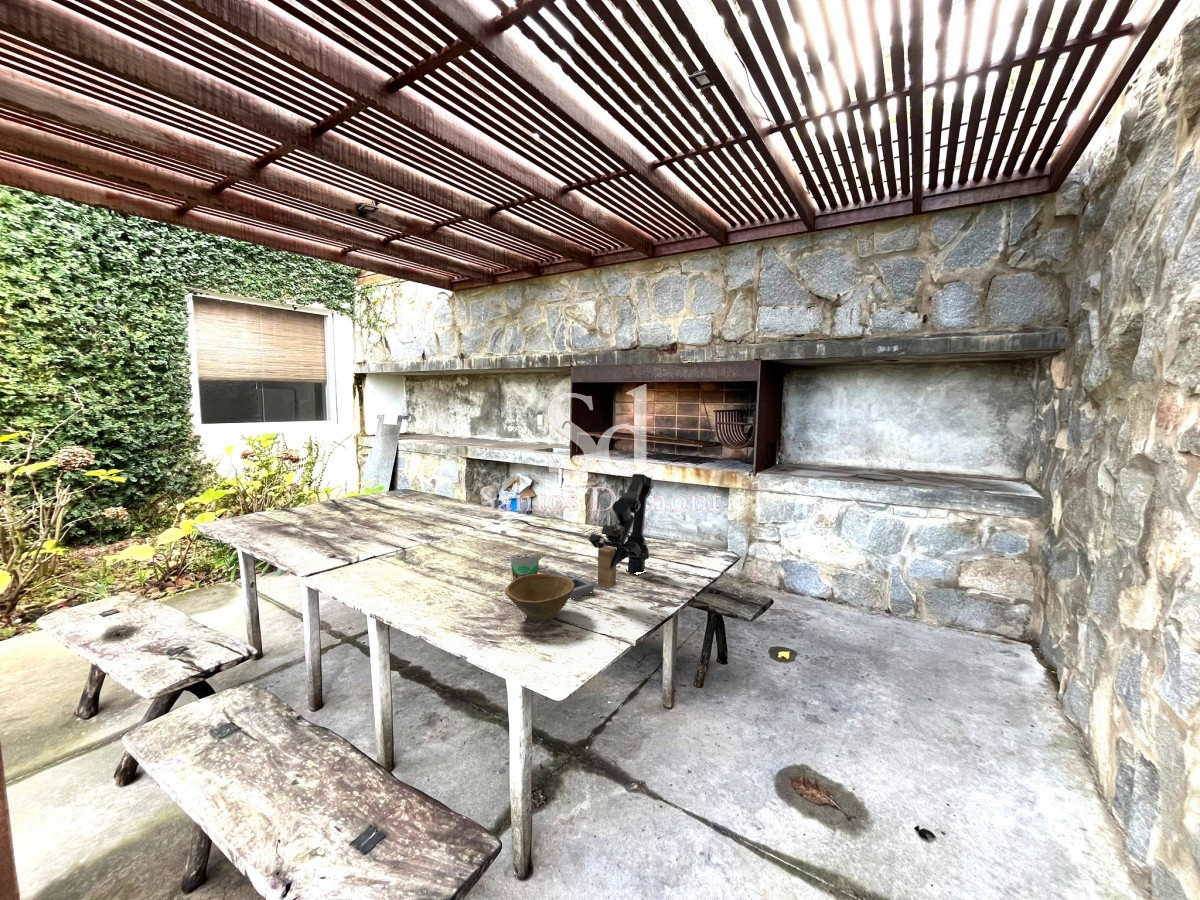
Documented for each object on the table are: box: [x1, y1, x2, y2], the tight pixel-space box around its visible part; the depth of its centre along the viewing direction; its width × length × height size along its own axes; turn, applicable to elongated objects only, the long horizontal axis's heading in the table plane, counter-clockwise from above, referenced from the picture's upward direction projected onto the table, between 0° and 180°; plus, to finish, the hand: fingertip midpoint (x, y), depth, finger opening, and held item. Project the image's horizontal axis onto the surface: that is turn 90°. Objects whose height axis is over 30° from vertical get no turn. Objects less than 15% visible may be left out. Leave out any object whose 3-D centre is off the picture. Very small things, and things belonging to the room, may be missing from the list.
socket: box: [569, 576, 595, 600], centre depth 180 cm, size 10×10×3 cm
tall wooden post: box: [597, 546, 617, 590], centre depth 169 cm, size 4×4×13 cm
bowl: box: [505, 572, 575, 623], centre depth 160 cm, size 22×23×10 cm
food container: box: [508, 552, 542, 581], centre depth 189 cm, size 12×6×10 cm, turn 105°
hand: (604, 566), depth 168 cm, fingers closed on tall wooden post, 4 cm apart
